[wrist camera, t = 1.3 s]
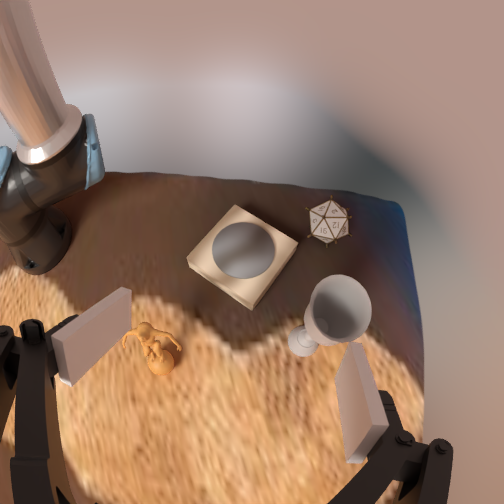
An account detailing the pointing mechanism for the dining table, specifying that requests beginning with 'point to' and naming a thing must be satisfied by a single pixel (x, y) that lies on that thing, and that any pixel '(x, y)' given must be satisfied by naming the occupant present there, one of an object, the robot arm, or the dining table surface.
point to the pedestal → (242, 256)
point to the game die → (329, 221)
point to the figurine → (154, 348)
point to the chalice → (332, 315)
